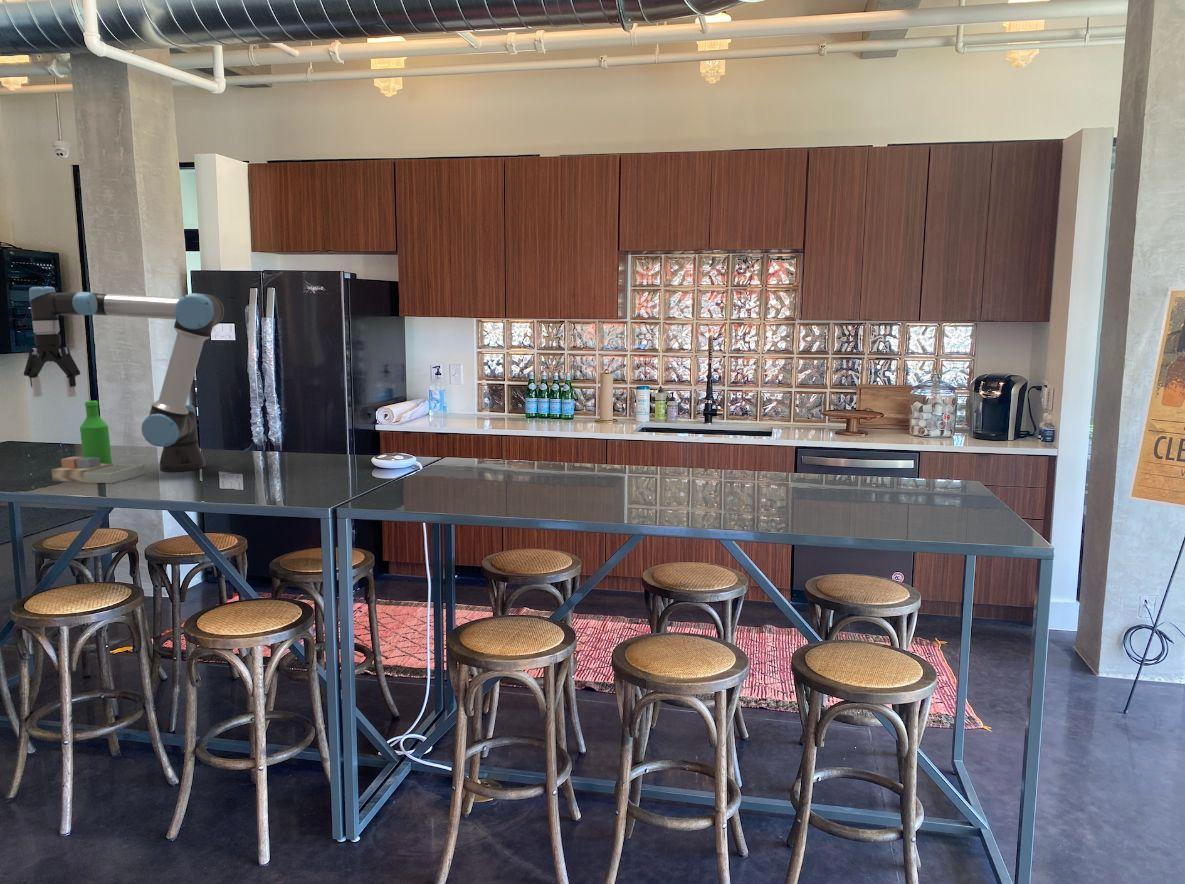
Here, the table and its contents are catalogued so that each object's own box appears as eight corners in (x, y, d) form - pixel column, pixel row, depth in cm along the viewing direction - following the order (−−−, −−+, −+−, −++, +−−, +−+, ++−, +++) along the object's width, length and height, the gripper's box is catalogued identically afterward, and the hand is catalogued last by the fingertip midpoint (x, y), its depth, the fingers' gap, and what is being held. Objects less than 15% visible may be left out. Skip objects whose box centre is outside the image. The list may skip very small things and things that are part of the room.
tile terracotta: (85, 465, 299) (84, 456, 299) (74, 467, 294) (73, 459, 294) (73, 465, 300) (72, 456, 300) (62, 467, 295) (61, 459, 295)
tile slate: (100, 465, 298) (99, 457, 297) (89, 468, 293) (88, 459, 293) (88, 465, 299) (87, 456, 298) (77, 468, 294) (76, 459, 294)
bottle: (103, 471, 310) (95, 402, 306) (79, 471, 310) (71, 402, 306) (117, 466, 318) (110, 399, 314) (94, 466, 319) (86, 399, 315)
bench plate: (114, 475, 302) (113, 463, 301) (88, 482, 290) (86, 470, 289) (79, 474, 304) (78, 463, 304) (52, 481, 293) (51, 469, 292)
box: (144, 474, 301) (143, 464, 301) (111, 483, 286) (110, 473, 285) (119, 474, 303) (117, 464, 303) (84, 483, 288) (83, 473, 287)
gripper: (87, 332, 289) (94, 395, 292) (25, 333, 294) (33, 395, 297) (69, 333, 282) (77, 397, 285) (6, 334, 287) (14, 397, 290)
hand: (54, 396), depth 291 cm, fingers open, 13 cm apart
